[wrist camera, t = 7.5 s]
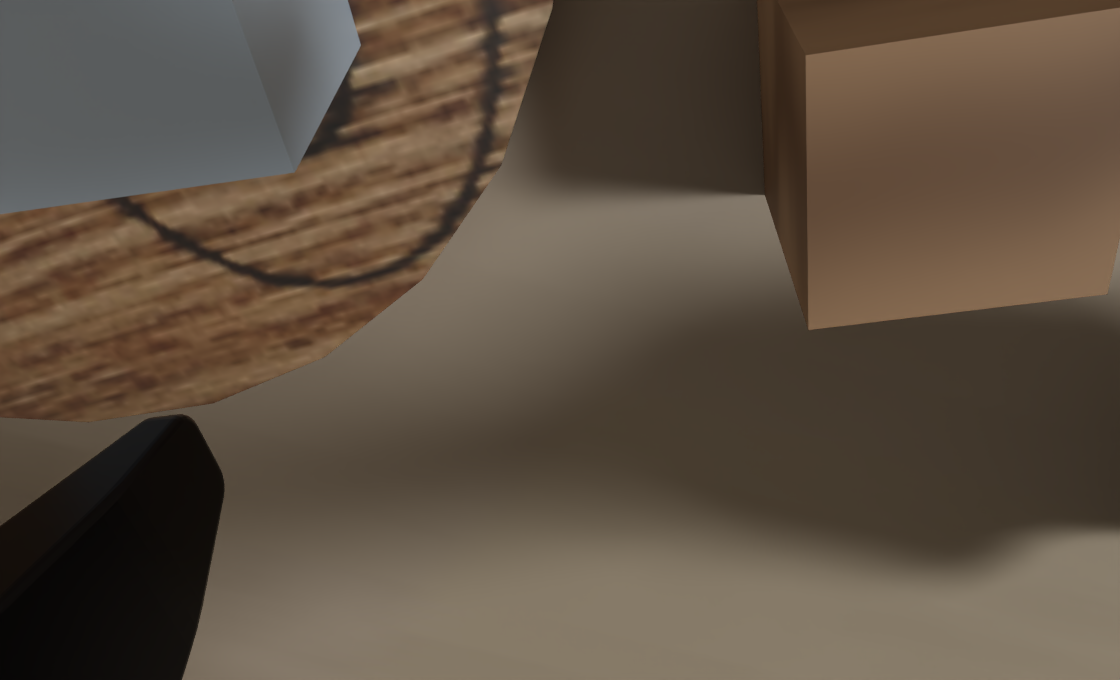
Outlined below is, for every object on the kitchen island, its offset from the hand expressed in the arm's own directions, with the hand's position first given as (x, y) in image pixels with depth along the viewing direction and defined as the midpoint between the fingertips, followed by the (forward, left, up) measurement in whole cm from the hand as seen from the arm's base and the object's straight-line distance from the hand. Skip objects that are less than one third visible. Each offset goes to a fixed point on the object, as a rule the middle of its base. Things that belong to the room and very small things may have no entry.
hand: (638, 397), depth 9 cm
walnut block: (-2, -5, -12) cm, 13 cm away
